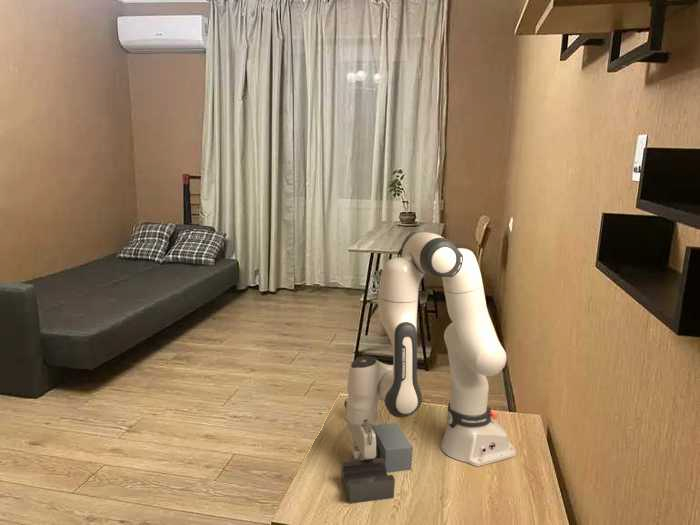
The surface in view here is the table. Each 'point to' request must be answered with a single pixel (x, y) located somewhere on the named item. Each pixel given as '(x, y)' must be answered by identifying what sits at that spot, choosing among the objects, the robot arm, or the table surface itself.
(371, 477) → the v block
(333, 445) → the table surface
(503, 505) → the table surface
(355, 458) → the axle
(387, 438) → the grey block
